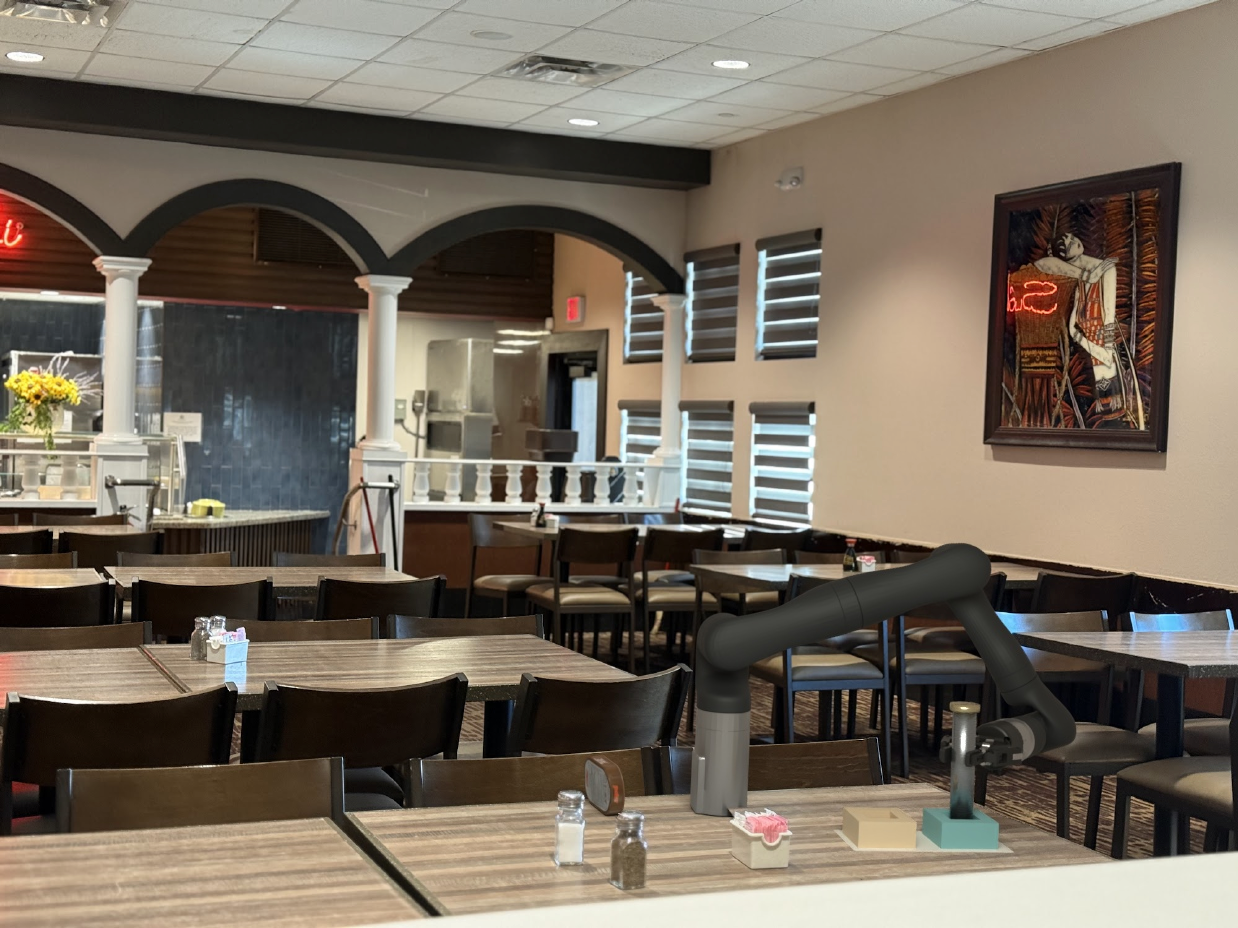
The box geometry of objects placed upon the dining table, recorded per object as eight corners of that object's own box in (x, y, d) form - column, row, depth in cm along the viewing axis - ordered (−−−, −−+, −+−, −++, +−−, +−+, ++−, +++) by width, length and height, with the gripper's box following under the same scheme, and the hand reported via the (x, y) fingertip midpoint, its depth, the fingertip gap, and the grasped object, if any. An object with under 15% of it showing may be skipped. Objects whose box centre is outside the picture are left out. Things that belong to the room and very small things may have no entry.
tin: (625, 819, 237) (627, 768, 237) (607, 820, 236) (609, 769, 236) (597, 798, 251) (599, 749, 251) (580, 798, 250) (582, 750, 250)
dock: (853, 860, 217) (855, 823, 217) (833, 839, 229) (834, 804, 229) (1013, 861, 220) (1015, 825, 220) (985, 840, 232) (986, 806, 232)
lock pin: (951, 822, 223) (955, 706, 223) (941, 815, 228) (945, 701, 228) (980, 822, 224) (984, 706, 223) (970, 815, 228) (974, 701, 228)
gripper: (963, 714, 241) (914, 726, 228) (1045, 726, 232) (998, 740, 219) (962, 758, 241) (912, 774, 228) (1043, 772, 232) (997, 789, 219)
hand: (955, 757), depth 223 cm, fingers closed on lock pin, 3 cm apart
